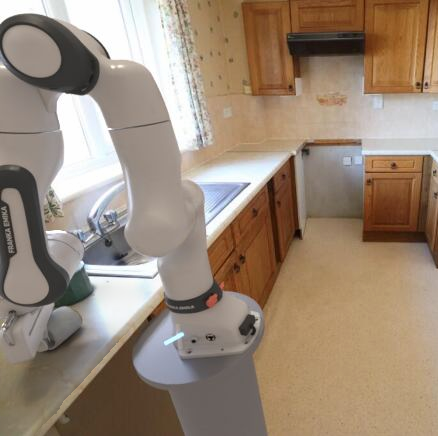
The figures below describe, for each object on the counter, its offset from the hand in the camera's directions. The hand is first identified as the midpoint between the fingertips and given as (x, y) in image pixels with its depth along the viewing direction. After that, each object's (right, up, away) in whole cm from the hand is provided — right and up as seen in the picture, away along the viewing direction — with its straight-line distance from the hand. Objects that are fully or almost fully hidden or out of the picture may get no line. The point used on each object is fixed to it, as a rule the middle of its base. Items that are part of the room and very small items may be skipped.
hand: (45, 347), depth 73 cm
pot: (-12, +6, +23) cm, 27 cm away
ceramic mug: (-3, -1, +8) cm, 8 cm away
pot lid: (-13, +14, +20) cm, 27 cm away
